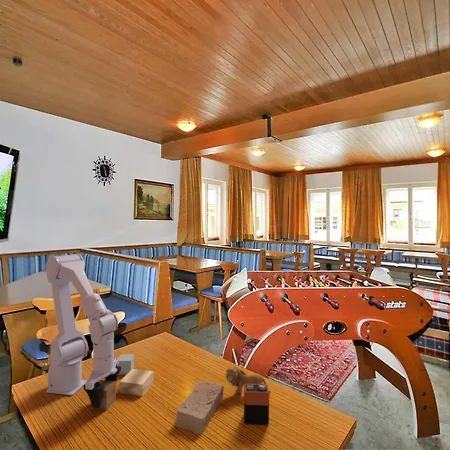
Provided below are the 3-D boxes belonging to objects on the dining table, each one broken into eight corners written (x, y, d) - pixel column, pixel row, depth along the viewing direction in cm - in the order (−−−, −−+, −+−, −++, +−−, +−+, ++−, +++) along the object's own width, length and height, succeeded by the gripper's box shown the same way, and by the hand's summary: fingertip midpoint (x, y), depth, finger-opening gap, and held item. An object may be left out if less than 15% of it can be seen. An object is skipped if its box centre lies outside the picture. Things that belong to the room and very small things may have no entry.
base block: (119, 393, 93) (119, 381, 93) (132, 380, 101) (132, 368, 100) (142, 396, 91) (142, 384, 91) (153, 382, 99) (153, 371, 99)
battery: (269, 426, 78) (269, 390, 78) (244, 424, 79) (244, 389, 79) (267, 415, 83) (267, 381, 83) (243, 414, 83) (244, 380, 83)
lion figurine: (226, 400, 89) (226, 371, 89) (224, 390, 95) (225, 363, 95) (272, 399, 90) (272, 370, 90) (268, 389, 96) (269, 362, 95)
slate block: (116, 374, 103) (116, 361, 103) (120, 367, 108) (120, 354, 108) (130, 374, 104) (130, 360, 104) (133, 367, 109) (133, 354, 109)
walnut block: (90, 409, 85) (90, 389, 85) (100, 398, 90) (100, 379, 90) (106, 410, 84) (106, 390, 84) (115, 400, 89) (115, 381, 89)
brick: (202, 435, 75) (202, 418, 75) (174, 427, 78) (174, 410, 78) (224, 399, 91) (224, 384, 91) (200, 393, 94) (200, 378, 93)
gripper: (101, 368, 79) (101, 416, 79) (127, 345, 93) (127, 386, 93) (78, 366, 80) (78, 414, 80) (107, 343, 94) (107, 384, 94)
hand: (103, 399), depth 87 cm, fingers open, 7 cm apart
